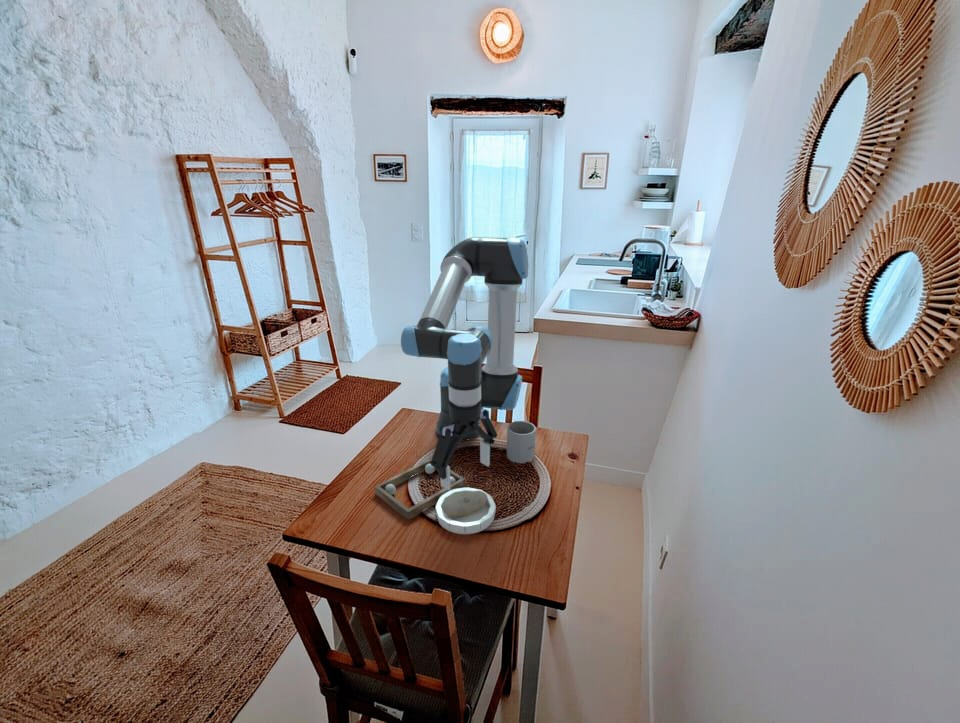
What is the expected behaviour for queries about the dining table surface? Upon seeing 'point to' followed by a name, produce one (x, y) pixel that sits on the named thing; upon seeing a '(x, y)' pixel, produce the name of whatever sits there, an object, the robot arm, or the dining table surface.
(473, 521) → the bowl
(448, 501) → the stone
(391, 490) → the pebble
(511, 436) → the mug
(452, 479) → the pebble
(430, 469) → the pale glossy ball
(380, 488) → the parts frame
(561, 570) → the dining table surface
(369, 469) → the dining table surface
